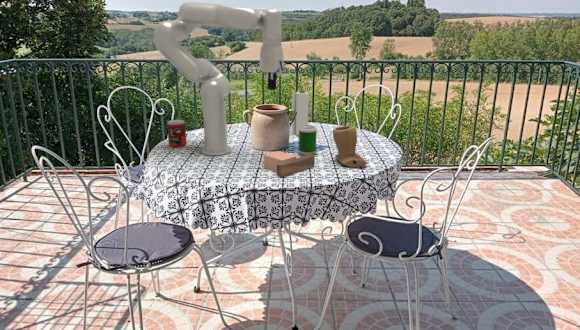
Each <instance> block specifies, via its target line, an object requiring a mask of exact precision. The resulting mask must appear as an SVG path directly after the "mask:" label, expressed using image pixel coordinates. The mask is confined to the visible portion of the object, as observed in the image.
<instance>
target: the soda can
mask: <svg viewBox="0 0 580 330" xmlns="http://www.w3.org/2000/svg"><path fill="white" fill-rule="evenodd" d="M317 130H318V129H317V128H316V127H315V125H312V124H311V125H310V124H308V125H303V126H301V127H300V128H299V136H298V152H299V153H300V155H301V156H305V155H308V154H310V155H314V156H315V154H316V153H317Z"/></svg>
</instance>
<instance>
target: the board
mask: <svg viewBox="0 0 580 330" xmlns="http://www.w3.org/2000/svg"><path fill="white" fill-rule="evenodd" d="M315 156H316V155H315V154H314V155H310V154H308V155H301V156H299V157H297V158H295V159H292V160H289V161H286V162H282V163H279V164H277V172H276V176H277V177H280V178H285V177H288V176H290V175H293V174H296V173H299V172H302V171H304V170H307V169H311V168H314V167H315V158H316V157H315Z"/></svg>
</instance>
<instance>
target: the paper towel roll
mask: <svg viewBox="0 0 580 330" xmlns="http://www.w3.org/2000/svg"><path fill="white" fill-rule="evenodd" d="M309 94H310V93H309V92H308V91H296V92H295V91H294V92H291V110H292V109H295V110H296V112H297V115H296V118H295V120H294V122H293V123H292V122H291V135H296V136H298V137H299V128H300V127H301V126H303V125H309V97H310V96H309Z"/></svg>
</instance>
